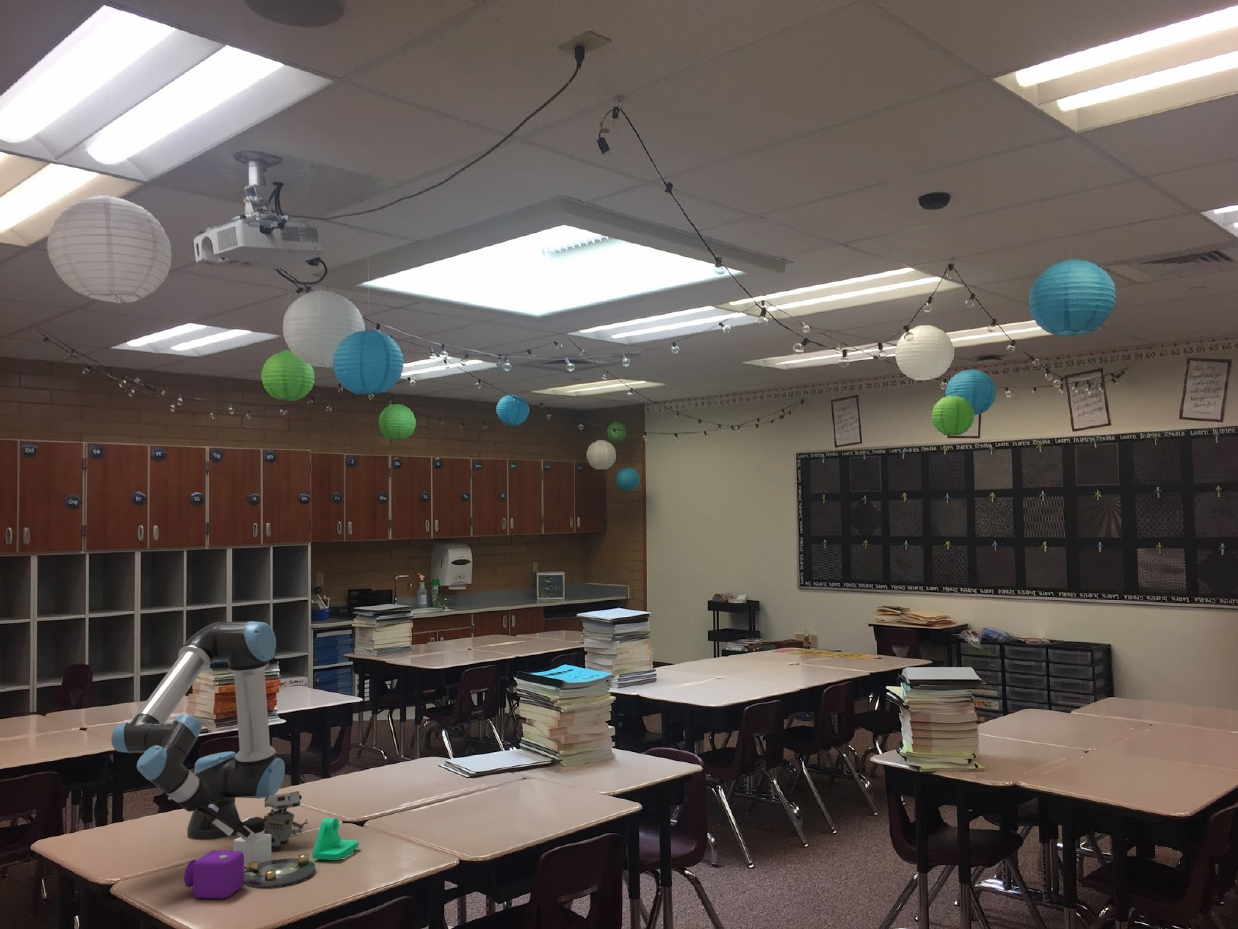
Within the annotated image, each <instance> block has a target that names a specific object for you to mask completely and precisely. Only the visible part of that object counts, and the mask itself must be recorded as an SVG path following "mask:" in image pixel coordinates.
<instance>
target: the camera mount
mask: <svg viewBox="0 0 1238 929" xmlns="http://www.w3.org/2000/svg"><path fill="white" fill-rule="evenodd" d="M339 830H340V821H339V819H338V817H336V818H335V817H324V818H323V819H322V821H321V823H320V826H319V830H318V833H317V836H316V840H315V843H314V847H313V850H312V859H315V860H329V861H337V860H341V859H340V858H346V857H347V856H348V855H351V854H352V853H353V854H354V851H355V850H357V849H358V848H359V840H351V839H341V835H339ZM353 854H352V855H353ZM352 855H351V856H352ZM347 858H348V857H347ZM347 858H346V859H347Z"/></svg>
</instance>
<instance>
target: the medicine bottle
mask: <svg viewBox="0 0 1238 929" xmlns="http://www.w3.org/2000/svg"><path fill="white" fill-rule="evenodd" d="M241 821H242V822H244V823H245V826H246V827H248V828H249V829H250V830H251V831H252V832H254V833H255V834H256V835H257V836H258V837H259V838H258V840H257V841H256V842H255V843H254V845H253V846H251V845H249V844H248V843H247V842H246V841H245V840H243V839H242V838H241V837H240V836H239V837H237V838H235V839H233V850H232V851H241V852H243V854H244V867H246V869H247V863H248V862H251V861H257V862H258V864H260V863H263V862H267V861H272V851H271V834H264V830H265V828H264V817H260V816H251V817H247V818H245V819H243V820H241Z"/></svg>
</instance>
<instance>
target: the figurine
mask: <svg viewBox="0 0 1238 929" xmlns="http://www.w3.org/2000/svg"><path fill="white" fill-rule="evenodd" d="M301 800H302V795H301V794H300V790H299V791H298V790H296V791H293V792H292V791H291V792H286V793H279V794H275V795H272V796H268V797H266V798H264V803H263V804H264V808H268V807H269V808H272V809H270V812H268V813H266V814H265V815H264V816H263V819H264V833H263V834H271V852H272V851H274V852H279V851H280V850H281V849H282V846H281V844H284V843H285V844H286V843H288V842H289V839H290V838H291V835H293V836H295V835H296V834H297V833H300V834H301V833H302V832H303V828H304V826H305V825H308V824H309V820H308V819H305V821H304V822H303V823H298V822H297V821H294V818H295V814H294V813H292V812H290V811H288V809H290V808H297V807H300V806H301V804H302V803H301ZM293 827H294V829H293ZM296 827H297V828H298V829H295V828H296Z"/></svg>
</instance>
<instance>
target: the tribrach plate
mask: <svg viewBox="0 0 1238 929" xmlns="http://www.w3.org/2000/svg"><path fill="white" fill-rule="evenodd" d="M315 872H316V865H315V863H314V862H313V861H312V860H310V854H309V853H300V854H299V855H297V858H278V859H273V860H272V859H271V861H267V862H263V863H260V864H258V862H257V861H251V862H248V863H247V868H246V869H244V882H243V885H245V884H246V885H245V886H247V887H250V886H252V887H251V888H254V887H258V888H257V889H272V888H271V887H277V888H279V887H278V886H284V887H287V886H286V885H289V886H292V885H291V884H293V885H295V884H294V883H297V884H298V883H302V882H305V881H306V880H305V879H307V880H308V878H309V877H310V878H312V877H313V876H314V875H315ZM313 874H314V875H313ZM312 875H313V876H312ZM311 876H312V877H311ZM310 878H309V879H310ZM304 880H305V881H304Z"/></svg>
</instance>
